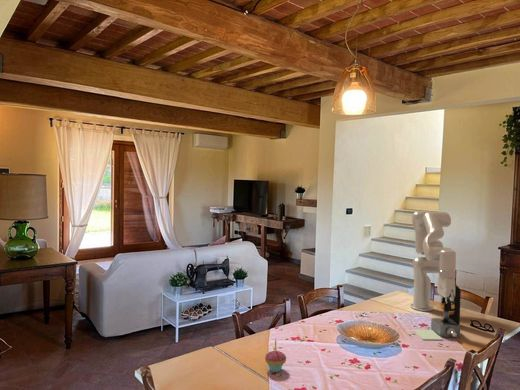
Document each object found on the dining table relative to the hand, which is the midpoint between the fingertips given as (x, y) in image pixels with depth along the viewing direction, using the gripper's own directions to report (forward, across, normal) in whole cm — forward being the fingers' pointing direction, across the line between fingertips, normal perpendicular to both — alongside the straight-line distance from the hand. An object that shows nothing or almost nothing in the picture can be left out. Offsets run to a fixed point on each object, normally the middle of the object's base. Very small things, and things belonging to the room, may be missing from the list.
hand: (446, 309), depth 196 cm
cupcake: (+13, +41, -89) cm, 99 cm away
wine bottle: (+12, -13, +10) cm, 21 cm away
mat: (+12, +3, -10) cm, 16 cm away
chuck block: (+12, +2, 0) cm, 13 cm away
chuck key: (+6, 0, 0) cm, 6 cm away
